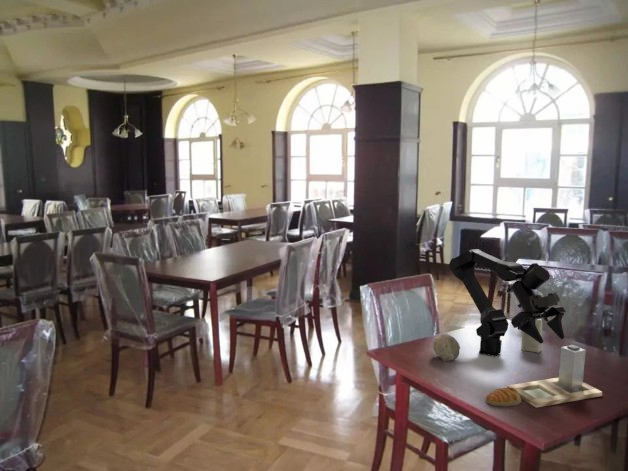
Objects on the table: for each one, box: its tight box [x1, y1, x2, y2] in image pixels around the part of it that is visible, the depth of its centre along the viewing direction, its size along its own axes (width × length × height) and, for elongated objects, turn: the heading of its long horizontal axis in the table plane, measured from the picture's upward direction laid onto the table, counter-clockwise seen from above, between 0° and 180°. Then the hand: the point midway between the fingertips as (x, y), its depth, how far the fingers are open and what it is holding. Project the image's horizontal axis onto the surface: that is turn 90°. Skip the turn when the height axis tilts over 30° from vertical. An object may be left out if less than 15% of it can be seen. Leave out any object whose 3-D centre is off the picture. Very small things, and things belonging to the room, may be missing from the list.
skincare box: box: [520, 318, 544, 354], centre depth 186 cm, size 6×4×12 cm
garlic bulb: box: [432, 333, 461, 362], centre depth 177 cm, size 9×8×10 cm
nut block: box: [557, 344, 587, 393], centre depth 153 cm, size 5×5×14 cm
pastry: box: [485, 387, 522, 408], centre depth 146 cm, size 9×7×4 cm
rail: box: [506, 376, 603, 408], centre depth 152 cm, size 24×12×1 cm, turn 109°
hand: (552, 340), depth 159 cm, fingers open, 9 cm apart
